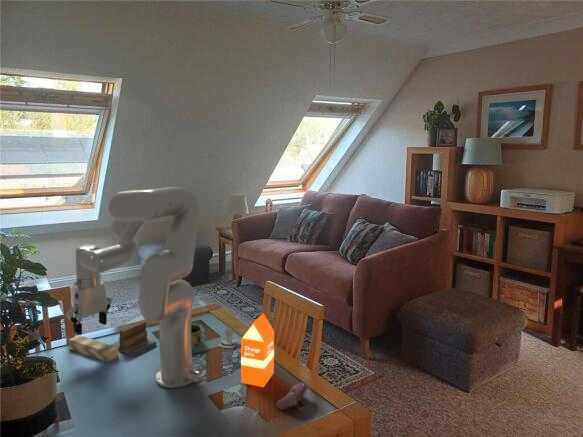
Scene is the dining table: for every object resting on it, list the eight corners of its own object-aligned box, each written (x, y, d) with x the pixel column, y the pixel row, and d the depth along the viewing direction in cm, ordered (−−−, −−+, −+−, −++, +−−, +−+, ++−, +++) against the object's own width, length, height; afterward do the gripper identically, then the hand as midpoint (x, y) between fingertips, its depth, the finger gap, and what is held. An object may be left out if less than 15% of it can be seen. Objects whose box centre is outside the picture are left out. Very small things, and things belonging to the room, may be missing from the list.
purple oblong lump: (285, 418, 121) (295, 401, 118) (273, 406, 123) (283, 389, 120) (303, 400, 129) (313, 384, 127) (292, 390, 131) (301, 373, 128)
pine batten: (119, 358, 150) (118, 347, 149) (109, 363, 146) (108, 352, 145) (79, 345, 159) (79, 335, 158) (69, 350, 155) (69, 339, 154)
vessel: (210, 344, 161) (210, 328, 160) (193, 353, 154) (193, 336, 153) (187, 336, 167) (187, 320, 166) (170, 344, 160) (169, 328, 159)
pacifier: (233, 350, 157) (240, 343, 162) (233, 334, 155) (240, 327, 161) (215, 347, 159) (222, 340, 165) (214, 331, 158) (222, 324, 163)
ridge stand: (156, 345, 159) (155, 324, 158) (134, 356, 150) (133, 334, 149) (133, 337, 165) (132, 317, 163) (110, 348, 156) (109, 327, 155)
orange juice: (240, 382, 135) (240, 321, 132) (251, 369, 144) (252, 311, 140) (264, 387, 133) (264, 325, 130) (274, 373, 141) (275, 314, 138)
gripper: (72, 290, 139) (75, 340, 142) (117, 277, 154) (118, 322, 157) (58, 285, 142) (60, 335, 145) (103, 273, 157) (104, 317, 160)
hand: (90, 328), depth 151 cm, fingers open, 9 cm apart
